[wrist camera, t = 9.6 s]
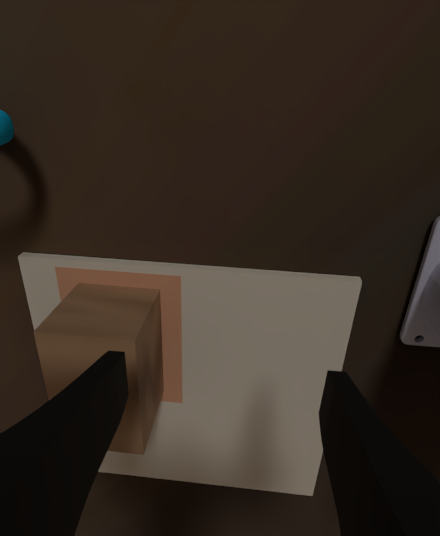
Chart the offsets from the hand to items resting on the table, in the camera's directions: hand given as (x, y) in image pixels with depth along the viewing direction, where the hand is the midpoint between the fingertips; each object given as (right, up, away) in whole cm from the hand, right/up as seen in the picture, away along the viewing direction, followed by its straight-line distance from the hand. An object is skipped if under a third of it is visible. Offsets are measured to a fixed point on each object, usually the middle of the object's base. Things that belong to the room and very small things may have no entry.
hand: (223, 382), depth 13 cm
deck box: (-6, -1, +11) cm, 13 cm away
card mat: (-2, -4, +13) cm, 14 cm away
